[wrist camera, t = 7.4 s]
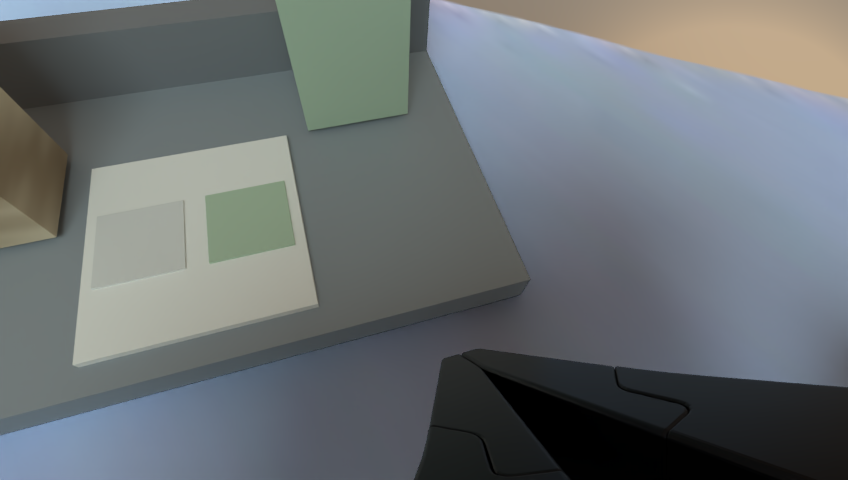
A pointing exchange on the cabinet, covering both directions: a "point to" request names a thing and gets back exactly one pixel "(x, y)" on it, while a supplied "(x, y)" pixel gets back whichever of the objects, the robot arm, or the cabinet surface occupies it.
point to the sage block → (348, 58)
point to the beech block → (28, 177)
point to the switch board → (224, 208)
